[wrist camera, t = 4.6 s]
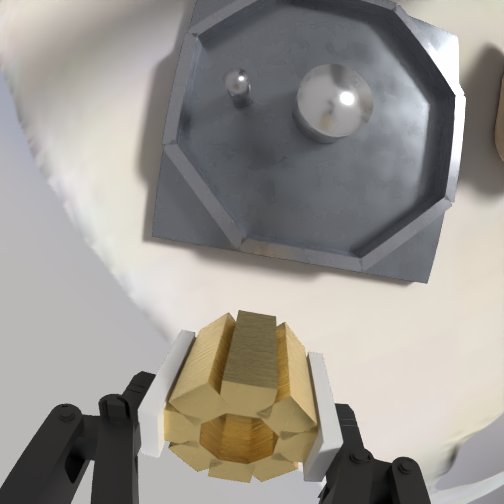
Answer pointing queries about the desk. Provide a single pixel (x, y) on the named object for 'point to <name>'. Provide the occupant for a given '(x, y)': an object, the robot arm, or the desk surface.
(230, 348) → the planet gear
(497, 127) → the brown rounded piece
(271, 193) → the tray
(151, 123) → the desk surface
